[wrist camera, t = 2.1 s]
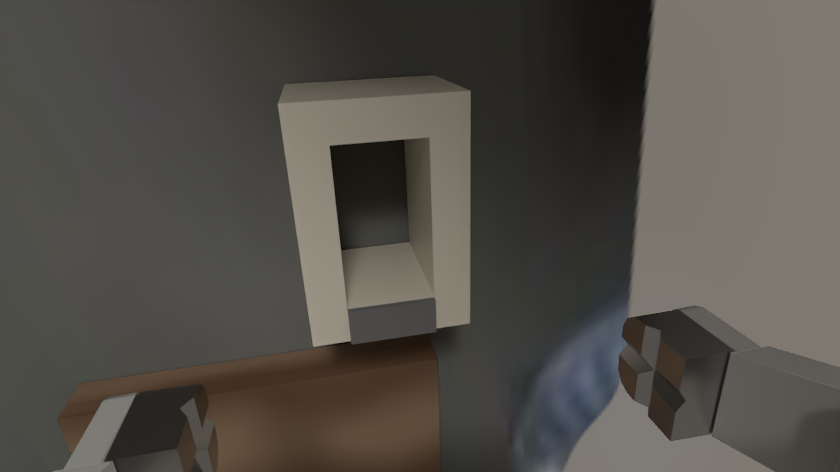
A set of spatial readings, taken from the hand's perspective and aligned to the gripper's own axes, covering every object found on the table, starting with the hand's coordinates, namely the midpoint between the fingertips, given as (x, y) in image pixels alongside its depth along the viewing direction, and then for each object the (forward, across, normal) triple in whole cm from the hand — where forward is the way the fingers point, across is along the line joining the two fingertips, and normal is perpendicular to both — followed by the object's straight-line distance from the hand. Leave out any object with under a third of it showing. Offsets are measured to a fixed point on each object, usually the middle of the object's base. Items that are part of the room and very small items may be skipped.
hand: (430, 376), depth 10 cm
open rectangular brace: (+11, 0, -1) cm, 11 cm away
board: (+11, +5, +12) cm, 17 cm away
